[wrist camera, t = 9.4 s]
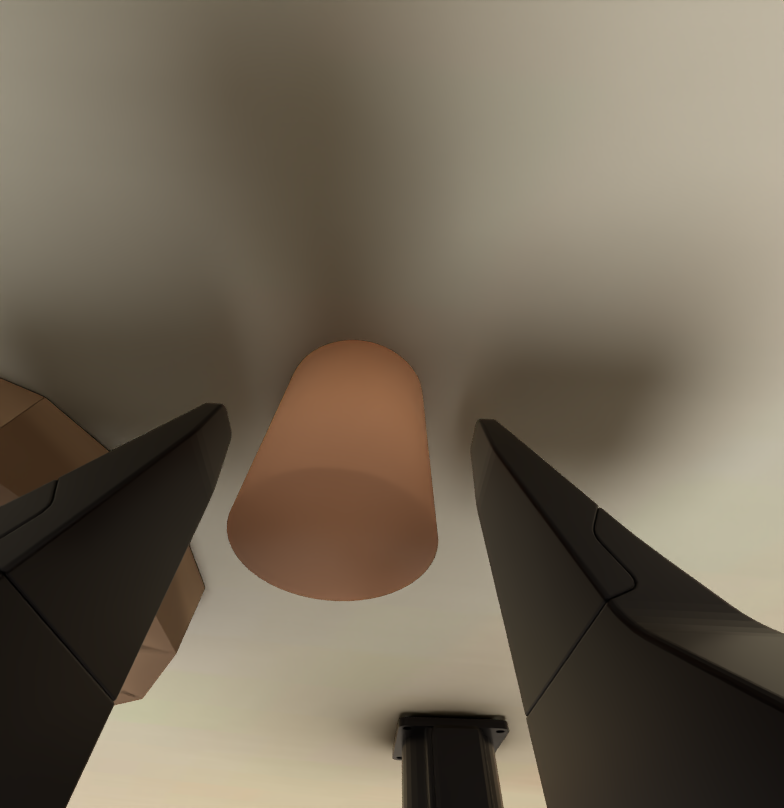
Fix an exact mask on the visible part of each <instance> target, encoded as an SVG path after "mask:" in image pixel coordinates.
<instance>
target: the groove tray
mask: <svg viewBox="0 0 784 808" xmlns="http://www.w3.org/2000/svg"><path fill="white" fill-rule="evenodd" d="M108 452H109V451H108V450H107V449H106V448H104V447H103V446H102V445H101V444H100V443H98V442H97V441H96V440H95V439H94V438H92V437H91V436H90V435H89V434H88V433H87V432H85V431H84V430H83V429H82V428H81V427H79V426H78V425H77V424H76V423H75V422H74V421H72V420H71V419H70V418H69V417H68V416H66V415H65V414H64V413H63V412H62V411H60V410H59V409H58V408H57V407H56V406H55V405H53V404H52V403H51V402H50V401H49V400H47V399H46V398H44V397H43V396H41V395H38V394H36V393H34V392H31V391H29V390H27V389H24V388H22V387H20V386H17V385H15V384H12V383H10V382H8V381H5V380H3V379H1V378H0V506H2V505H4V504H6V503H8V502H10V501H12V500H14V499H16V498H18V497H20V496H23V495H25V494H27V493H29V492H31V491H33V490H35V489H37V488H39V487H41V486H43V485H45V484H47V483H49V482H51V481H52V480H58V478H59V477H61V476H63V475H65V474H67V473H69V472H71V471H72V470H74V469H76V468H78V467H80V466H82V465H84V464H86V463H88V462H90V461H92V460H94V459H96V458H98V457H100V456H102V455H104V454H106V453H108ZM204 589H205V587H204V584H203V581H202V579H201V576H200V573H199V571H198V568H197V565H196V563H195V560H194V557H193V555H192V552H191V549H190V547H189V546H188V548H187V550H186V552H185V554H184V556H183V559H182V561H181V563H180V565H179V567H178V569H177V571H176V573H175V576H174V578H173V580H172V582H171V584H170V586H169V588H168V591H167V593H166V595H165V597H164V599H163V601H162V603H161V605H160V608H159V610H158V612H157V614H156V616H155V618H154V620H153V623H152V625H151V627H150V629H149V631H148V633H147V635H146V637H145V640H144V642H143V644H142V646H141V648H140V650H139V652H138V654H137V657H136V659H135V661H134V663H133V665H132V667H131V669H130V672H129V674H128V676H127V678H126V680H125V682H124V684H123V686H122V689H121V691H120V693H119V695H118V697H117V699H116V700H115V701H114V703H115V704H114V705H117V704H122V703H126V702H130V701H135V700H139V699H143V697H144V696H145V695H146V693H147V692H148V691H149V689H150V688H151V687H152V685H153V684H154V683H155V681H156V680H157V679H158V677H159V676H160V675H161V673H162V672H163V671H164V669H165V668H166V667H167V665H168V664H169V663H170V661H171V660H172V659H173V657H174V656H175V655H176V653H177V651H178V649H179V646H180V644H181V642H182V639H183V637H184V635H185V633H186V630H187V628H188V626H189V623H190V621H191V619H192V617H193V614H194V612H195V610H196V607H197V605H198V603H199V601H200V598H201V596H202V594H203V591H204Z"/></svg>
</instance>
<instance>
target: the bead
mask: <svg viewBox="0 0 784 808" xmlns="http://www.w3.org/2000/svg"><path fill="white" fill-rule="evenodd" d="M227 534H228V539H229V542H230V545H231V547H232V549H233V551H234V552H235V554H236V556H237V557H238V558H239V560H240V561H241V562H242V563H243V564H244V565H245V566H246V567H247V568H248V569H249V570H250V571H251V572H253V573H254V574H255V575H257V576H258V577H259V578H261V579H263V580H264V581H266V582H267V583H269V584H271V585H273V586H275V587H278V588H280V589H282V590H285V591H288V592H290V593H294V594H297V595H300V596H305V597H309V598H314V599H321V600H331V601H355V600H364V599H371V598H376V597H380V596H384V595H387V594H390V593H393V592H395V591H398V590H400V589H402V588H404V587H406V586H408V585H409V584H411V583H413V582H414V581H415V580H417V579H418V578H419V577H420V576H421V575H422V574H424V573H425V572H426V570H427V569H428V568H429V566H430V565H431V563H432V562H433V560H434V558H435V555H436V552H437V548H438V534H437V524H436V515H435V506H434V496H433V487H432V478H431V468H430V459H429V450H428V441H427V431H426V422H425V413H424V403H423V394H422V388H421V384H420V382H419V379H418V377H417V375H416V373H415V372H414V370H413V369H412V368H411V366H410V365H409V364H408V363H407V362H406V361H405V360H404V359H403V358H402V357H401V356H399V355H398V354H396V353H395V352H394V351H392V350H390V349H388V348H386V347H384V346H381V345H379V344H376V343H372V342H368V341H360V340H344V341H337V342H333V343H329V344H327V345H324V346H322V347H320V348H318V349H316V350H314V351H313V352H311V353H310V354H309V355H307V356H306V357H305V358H304V359H303V360H302V361H301V363H300V364H299V365H298V367H297V368H296V370H295V372H294V374H293V376H292V378H291V380H290V383H289V385H288V387H287V389H286V391H285V394H284V396H283V398H282V400H281V402H280V404H279V407H278V409H277V411H276V413H275V415H274V417H273V420H272V422H271V424H270V426H269V428H268V430H267V433H266V435H265V437H264V439H263V441H262V443H261V446H260V448H259V450H258V452H257V454H256V456H255V459H254V461H253V463H252V465H251V467H250V469H249V472H248V474H247V476H246V478H245V480H244V482H243V485H242V487H241V489H240V491H239V493H238V495H237V498H236V500H235V502H234V504H233V506H232V508H231V511H230V513H229V517H228V521H227Z"/></svg>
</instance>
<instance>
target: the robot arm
mask: <svg viewBox="0 0 784 808" xmlns="http://www.w3.org/2000/svg"><path fill="white" fill-rule="evenodd" d="M230 440H231V427H230V423H229V418H228V413H227V409H226V407H225V406H224V405H223V404H218V403H205V404H203V405H201V406H199V407H197V408H195V409H193V410H191V411H189V412H187V413H185V414H183V415H181V416H179V417H177V418H175V419H174V420H172V421H170V422H168V423H166V424H164V425H162V426H160V427H158V428H156V429H154V430H152V431H150V432H148V433H146V434H144V435H142V436H140V437H138V438H136V439H134V440H132V441H130V442H128V443H126V444H124V445H122V446H120V447H118V448H116V449H114V450H112V451H110V452H108V453H106V454H104V455H102V456H100V457H98V458H96V459H94V460H92V461H90V462H88V463H86V464H84V465H82V466H80V467H78V468H76V469H74V470H72V471H71V472H69V473H67V474H65V475H63V476H61V477H59V478H58V480H52V481H51V482H49V483H47V484H45V485H43V486H41V487H39V488H37V489H35V490H33V491H31V492H29V493H27V494H25V495H23V496H20V497H18V498H16V499H14V500H12V501H10V502H8V503H6V504H4V505H2V506H0V808H66V806H67V804H68V802H69V800H70V798H71V796H72V794H73V792H74V789H75V787H76V785H77V783H78V781H79V779H80V777H81V775H82V772H83V770H84V768H85V766H86V764H87V762H88V760H89V757H90V755H91V753H92V751H93V749H94V747H95V745H96V743H97V740H98V738H99V736H100V734H101V732H102V730H103V728H104V725H105V723H106V721H107V719H108V717H109V715H110V713H111V711H112V708H113V706H114V704H115V703H114V701H115V700H116V699H117V697H118V695H119V693H120V691H121V689H122V686H123V684H124V682H125V680H126V678H127V676H128V674H129V672H130V669H131V667H132V665H133V663H134V661H135V659H136V657H137V654H138V652H139V650H140V648H141V646H142V644H143V642H144V640H145V637H146V635H147V633H148V631H149V629H150V627H151V625H152V623H153V620H154V618H155V616H156V614H157V612H158V610H159V608H160V605H161V603H162V601H163V599H164V597H165V595H166V593H167V591H168V588H169V586H170V584H171V582H172V580H173V578H174V576H175V573H176V571H177V569H178V567H179V565H180V563H181V561H182V559H183V556H184V554H185V552H186V550H187V548H188V546H189V544H190V542H191V539H192V537H193V535H194V533H195V531H196V529H197V527H198V524H199V522H200V520H201V518H202V516H203V514H204V512H205V510H206V507H207V505H208V503H209V501H210V499H211V496H212V494H213V492H214V489H215V486H216V483H217V480H218V477H219V474H220V471H221V468H222V465H223V462H224V459H225V456H226V453H227V450H228V447H229V444H230ZM471 460H472V469H473V479H474V488H475V497H476V505H477V510H478V515H479V520H480V524H481V528H482V532H483V537H484V541H485V545H486V549H487V554H488V558H489V562H490V566H491V570H492V575H493V579H494V583H495V587H496V592H497V596H498V600H499V604H500V609H501V613H502V617H503V621H504V626H505V630H506V634H507V638H508V643H509V647H510V651H511V655H512V660H513V664H514V668H515V672H516V677H517V681H518V685H519V689H520V693H521V698H522V702H523V706H524V710H525V714H526V716H527V718H526V720H527V724H528V728H529V733H530V737H531V741H532V745H533V750H534V754H535V758H536V762H537V767H538V771H539V775H540V779H541V784H542V788H543V792H544V796H545V801H546V805H547V808H784V633H781V632H779V631H776V630H774V629H772V628H769V627H767V626H765V625H763V624H761V623H759V622H757V621H755V620H754V619H752V618H750V617H748V616H747V615H745V614H743V613H742V612H740V611H739V610H737V609H736V608H734V607H733V606H731V605H730V604H729V603H727V602H726V601H724V600H723V599H722V598H720V597H719V596H717V595H716V594H715V593H713V592H712V591H711V590H709V589H708V588H706V587H705V586H704V585H702V584H701V583H699V582H698V581H697V580H695V579H694V578H693V577H691V576H690V575H688V574H687V573H686V572H684V571H683V570H681V569H680V568H679V567H677V566H676V565H675V564H673V563H672V562H670V561H669V560H668V559H666V558H665V557H663V556H662V555H661V554H659V553H658V552H657V551H655V550H654V549H653V548H651V547H650V546H649V545H647V544H646V543H645V542H643V541H642V540H641V539H639V538H638V537H637V536H635V535H634V534H633V533H632V532H630V531H629V530H628V529H627V528H625V527H624V526H623V525H622V524H620V523H619V522H618V521H617V520H615V519H614V518H613V517H612V516H611V515H609V514H608V513H607V512H606V511H605V510H603V509H602V508H598V505H597V504H596V503H595V502H594V501H592V500H591V499H590V498H589V497H587V496H586V495H585V494H584V493H583V492H581V491H580V490H579V489H578V488H577V487H575V486H574V485H573V484H572V483H571V482H569V481H568V480H567V479H566V478H565V477H563V476H562V475H561V474H560V473H559V472H557V471H556V470H555V469H554V468H553V467H551V466H550V465H549V464H548V463H547V462H545V461H544V460H543V459H542V458H541V457H539V456H538V455H537V454H536V453H535V452H533V451H532V450H531V449H530V448H529V447H527V446H526V445H525V444H524V443H523V442H521V441H520V440H519V439H518V438H517V437H515V436H514V435H513V434H512V433H511V432H509V431H508V430H507V429H506V428H504V427H503V426H502V425H501V424H500V423H498V422H497V421H496V420H494V419H479V420H478V421H477V423H476V426H475V430H474V435H473V439H472V443H471ZM508 732H509V728H508V723H507V721H504V720H486V719H458V718H430V717H401V718H399V720H398V725H397V730H396V735H395V740H394V745H393V759H395V760H402V808H504V807H503V801H502V795H501V789H500V782H499V776H498V770H497V764H496V758H495V752H496V751H497V749H498V748H499V746H500V744H501V743H502V741H503V740H504V738H505V737H506V735H507V734H508Z"/></svg>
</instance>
